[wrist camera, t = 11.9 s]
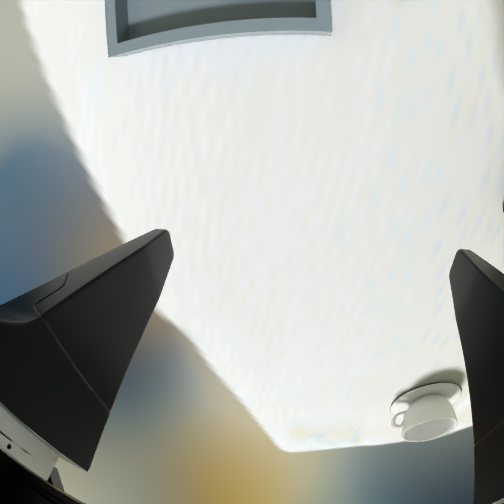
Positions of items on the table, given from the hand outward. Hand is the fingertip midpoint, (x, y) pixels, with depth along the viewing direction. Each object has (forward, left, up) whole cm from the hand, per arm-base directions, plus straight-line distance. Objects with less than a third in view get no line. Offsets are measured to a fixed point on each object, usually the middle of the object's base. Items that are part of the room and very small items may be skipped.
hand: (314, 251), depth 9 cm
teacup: (-17, +30, -12) cm, 37 cm away
